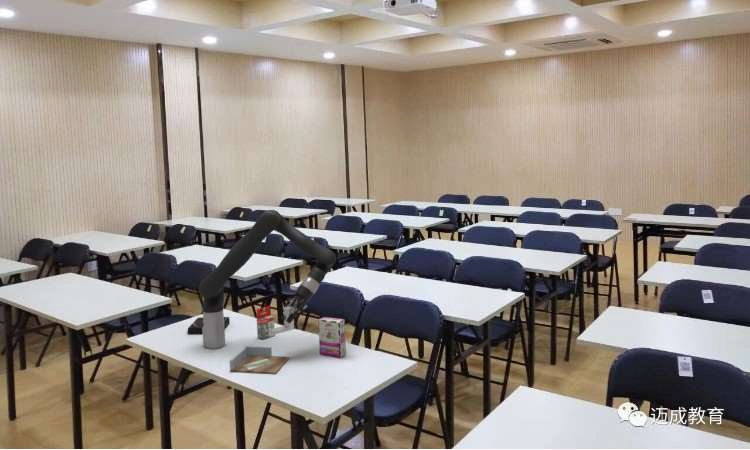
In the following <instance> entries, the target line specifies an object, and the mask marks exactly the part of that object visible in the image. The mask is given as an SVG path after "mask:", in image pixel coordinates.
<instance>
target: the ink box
mask: <svg viewBox="0 0 750 450" xmlns="http://www.w3.org/2000/svg"><path fill="white" fill-rule="evenodd" d="M270 311H271V309H270V305H268V306H264V307H261V308H256V333H257V338H258V339H259V340H261V341H262V340H265V339H269V338H272V337H276V334H274V333H272V332H271V330H270V329H274V328H276V327H275V317H274V316H272V315H271V313H270Z"/></svg>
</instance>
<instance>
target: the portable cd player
mask: <svg viewBox="0 0 750 450" xmlns="http://www.w3.org/2000/svg"><path fill="white" fill-rule="evenodd" d="M230 320H231V319H230V317H229V316H224V329H225V330H226V329H227V328H228V326H229V325H230V324H231V323H230ZM202 327H204V321H203V317H197V318H196V319H195V320H194V321H192V323H191V324H190V326H189V327H187V332H186V334H187V335H189V336H191V335H193V336H195V335H201V336H202V335H203V333H202Z"/></svg>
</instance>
